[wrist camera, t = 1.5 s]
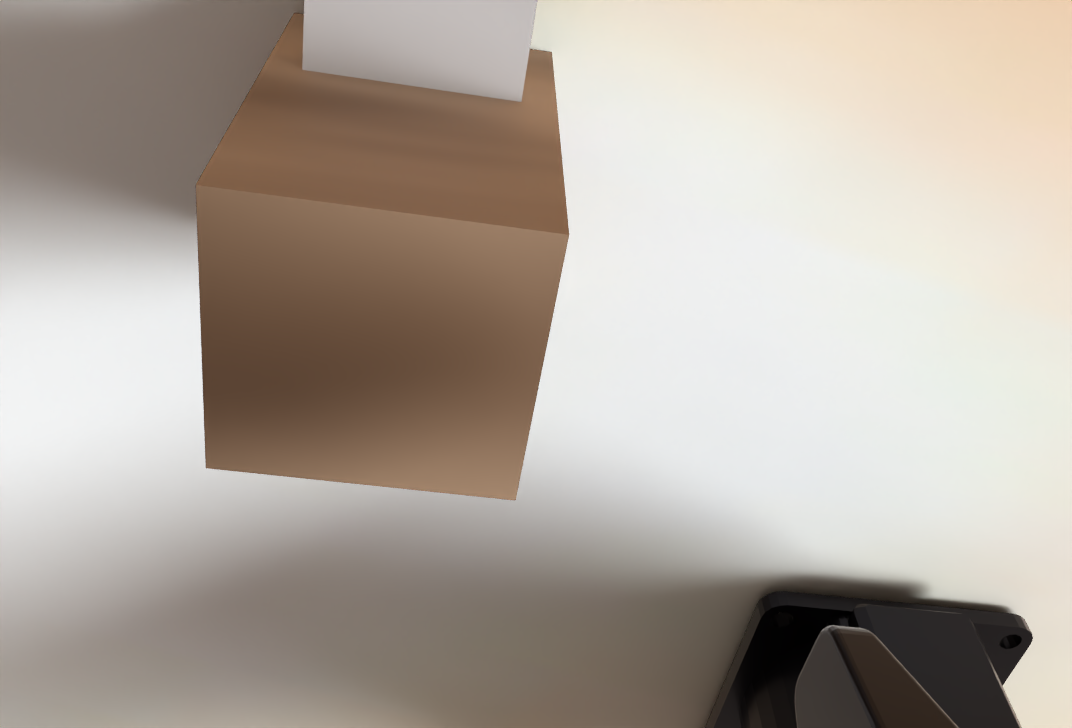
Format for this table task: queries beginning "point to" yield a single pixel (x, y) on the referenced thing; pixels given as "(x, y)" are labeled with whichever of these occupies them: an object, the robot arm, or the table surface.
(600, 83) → the table surface
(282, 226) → the brown grey l-shaped block
